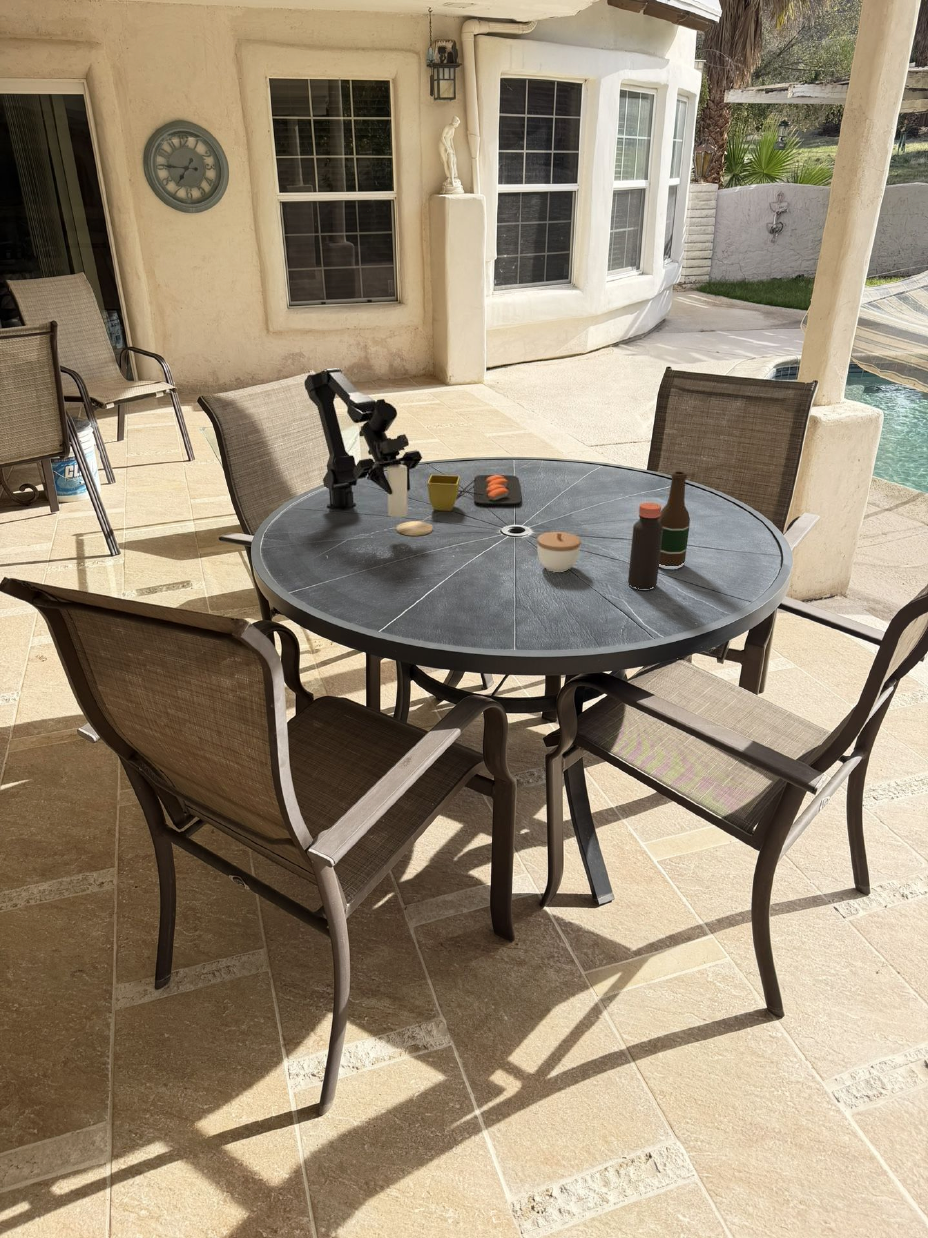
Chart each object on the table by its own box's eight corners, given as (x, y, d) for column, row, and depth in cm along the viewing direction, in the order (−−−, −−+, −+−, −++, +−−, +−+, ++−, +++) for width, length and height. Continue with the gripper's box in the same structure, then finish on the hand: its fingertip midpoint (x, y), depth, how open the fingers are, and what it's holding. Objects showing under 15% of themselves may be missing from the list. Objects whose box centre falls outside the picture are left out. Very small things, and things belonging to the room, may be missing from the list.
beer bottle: (685, 561, 221) (697, 470, 211) (682, 572, 215) (694, 478, 204) (655, 557, 224) (665, 466, 213) (650, 568, 217) (661, 475, 206)
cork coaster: (389, 531, 240) (389, 529, 239) (410, 521, 247) (410, 519, 247) (419, 538, 235) (419, 536, 235) (439, 527, 243) (439, 525, 242)
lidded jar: (550, 579, 210) (552, 543, 206) (527, 564, 219) (529, 529, 215) (587, 571, 215) (589, 536, 211) (563, 557, 223) (565, 522, 219)
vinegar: (650, 593, 203) (659, 512, 194) (623, 587, 206) (630, 507, 198) (660, 583, 208) (669, 504, 199) (634, 577, 211) (641, 499, 203)
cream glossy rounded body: (384, 515, 231) (383, 468, 226) (393, 509, 236) (392, 463, 230) (402, 518, 230) (401, 471, 224) (410, 512, 234) (410, 465, 228)
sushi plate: (521, 509, 259) (522, 497, 258) (421, 507, 260) (421, 495, 258) (518, 480, 286) (518, 469, 284) (427, 479, 286) (427, 468, 284)
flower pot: (460, 504, 261) (460, 475, 257) (457, 513, 254) (457, 484, 250) (431, 503, 262) (431, 474, 258) (427, 512, 254) (427, 483, 250)
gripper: (356, 429, 220) (380, 482, 217) (418, 420, 230) (441, 470, 227) (343, 452, 229) (365, 503, 226) (403, 442, 239) (425, 491, 236)
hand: (400, 491), depth 229 cm, fingers closed on cream glossy rounded body, 5 cm apart
